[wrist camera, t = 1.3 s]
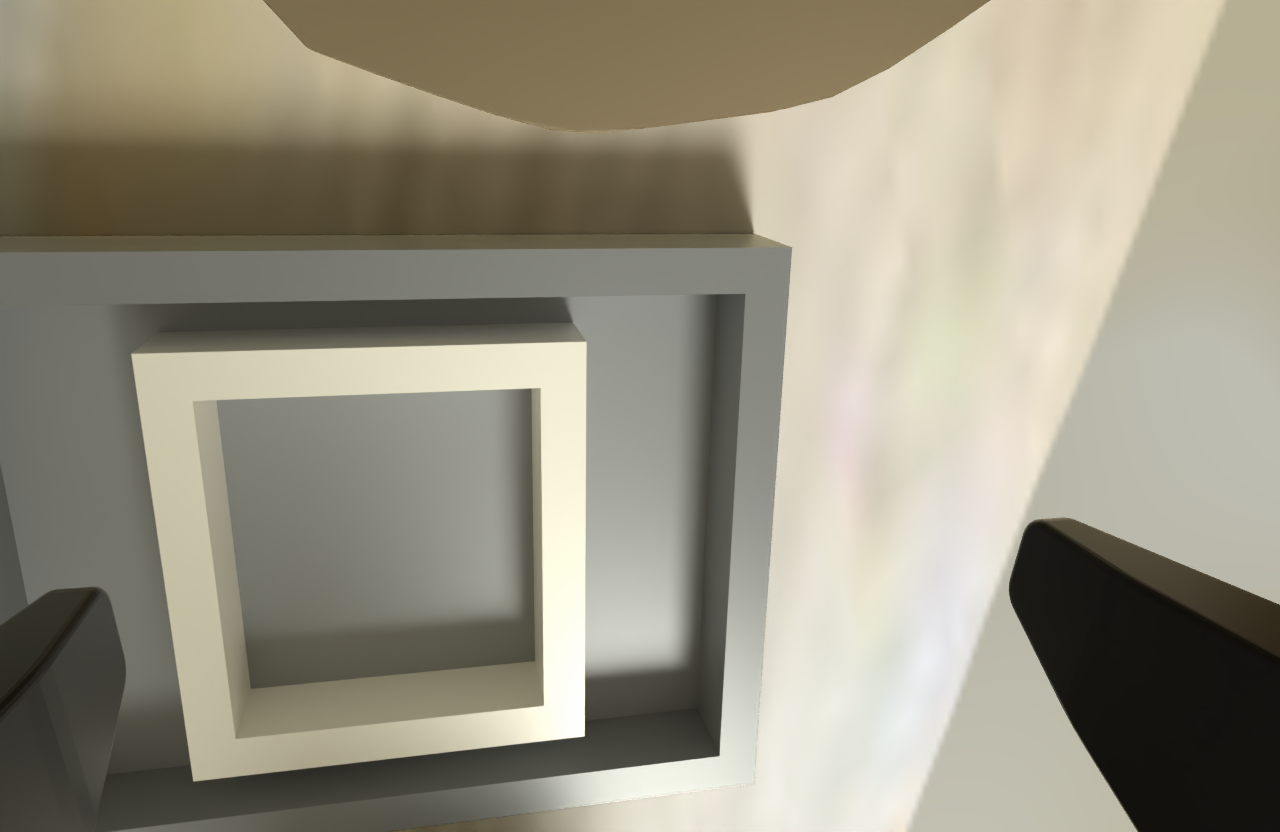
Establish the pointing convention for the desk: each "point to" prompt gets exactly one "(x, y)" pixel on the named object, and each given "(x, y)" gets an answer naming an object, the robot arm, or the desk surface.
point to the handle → (622, 52)
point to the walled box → (401, 513)
